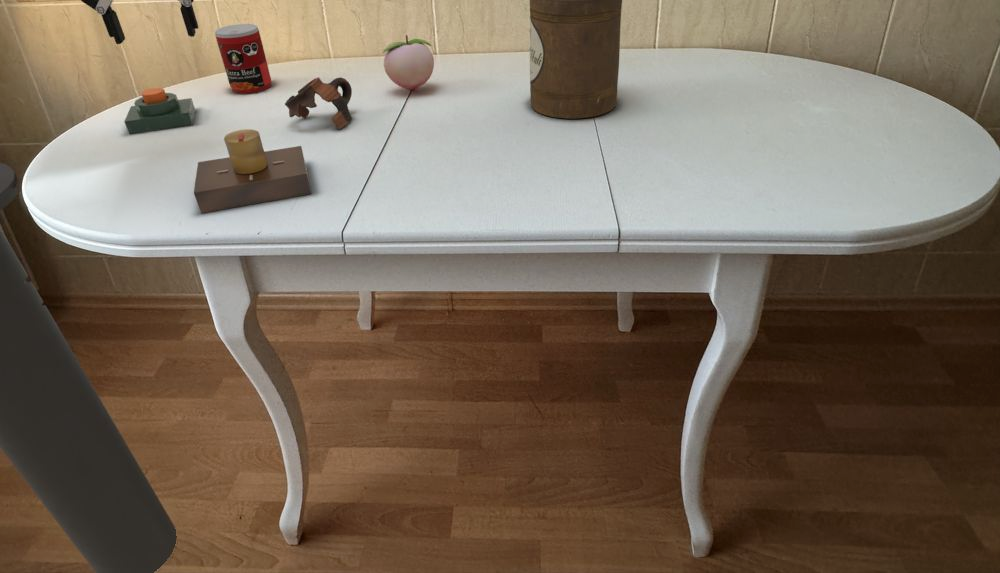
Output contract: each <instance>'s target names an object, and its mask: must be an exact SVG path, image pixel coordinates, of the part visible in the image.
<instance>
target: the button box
mask: <svg viewBox="0 0 1000 573" xmlns="http://www.w3.org/2000/svg"><path fill="white" fill-rule="evenodd" d="M165 93H166V96H167V99H166V100H164V101H161V102H157V103H145V102H144V100H143V97H142V96H141V97H139V98H137V99H136V100H135V101H134V105H131V106H130V107H129V110H128V113H127V114H126V117H125V119H124V124H125V127H126V129H127V132H128V134H129V135H133V134H140V133H146V132H154V131H160V130H167V129H173V128H174V129H175V128H182V127H189V126H194V120H195V114H196V108H195V105H194V101H193V99H192V98H191V97H189V98H182V99H181V98H180V99H178V96H177V94H175V93H172V92H165Z"/></svg>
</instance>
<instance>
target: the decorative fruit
mask: <svg viewBox="0 0 1000 573" xmlns="http://www.w3.org/2000/svg"><path fill="white" fill-rule="evenodd" d="M428 46H430V47H432V44H431V43H430V42H429V41H427V40H425V39H421V38H413V39H410V40H409V38H408V34H405V42H404V41H394V42H391V43H389V44H387V46H385V48H384V49H383V51H382V53H385V55H384V57H383V68H384V71H385V73H386V75H387V77H388V78H389V80H390V81H392V83H394V84H395V85H397V86H398V87H400V88H402V89H404V90H408V91H410V92H412V91H415V90H416V89H418V88H419V87H421V86H423V85H424V84H425V83H427V82H428V81H429V80H430V78H431V77H432V74H433V73H434V67H435V59H434V55H433V53H432V51H431V50H430V48H428Z"/></svg>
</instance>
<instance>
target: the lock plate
mask: <svg viewBox="0 0 1000 573" xmlns="http://www.w3.org/2000/svg"><path fill="white" fill-rule="evenodd" d="M264 153H265V156H266V160H267V164H268V165H267V167H266V168H265V169H263V170H261V171H259V172H255V173H251V174H239V173H236V172H235V171H234V170H233V166H232V163H231V160H230V157H229V156H228V157H222V158H215V159H209V160H203V161H198V162H197V166H196V175H195V182H194V188H193V195H194V197H195V198H194V199H195V200H196V203H197V205H198V209H199V211H200V213H201V214H205V213H212V212H216V211H223V210H227V209H232V208H238V207H240V208H241V207H244V206H249V205H256V204H262V203H268V202H274V201H279V200H285V199H290V198H296V197H302V196H307V195H312V188H311V184H310V183H311V182H310V179H309V178H310V177H309V172H308V169H307V165H306V164H307V163H306V160H305V155H304V150H303V148H302V145H297V146H291V147H285V148H279V149H272V150H271V149H270V150H266V151H265V150H264Z"/></svg>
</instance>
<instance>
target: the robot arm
mask: <svg viewBox="0 0 1000 573" xmlns="http://www.w3.org/2000/svg"><path fill="white" fill-rule="evenodd" d="M80 1H81V2H82V3H83V4H85V5H86V6H88V7H90V8H91V9H93V10H94V11H95V12H96V13H97V14H98V15H101V16H100V17H101V19H102V21H103V24H104V26H105V28H106V31H107V34H108V36H109V37H110V38H113V40H114V42H115V44H116V45H122V44H123V43H124V41H125V40H126V36H125V33H124V30H123V28H122V25H121V22H120V20H119V17H118V14H117V11H116V10H114V9H113V7H112V4H113V2H114V0H80ZM177 1H178V2H179V3H180V5H181V6H180V8H179V10H180V13H181V16H182V17H181V18H182V21H183V23H184V26H185V30H186V32H187V35H188V37H191V38H193V37H195V36H196V34H197V33H196V31H197V30H198V29H199V24H198V20H197V16H196V13H195V10H194V5H193V3H194V1H195V0H177Z"/></svg>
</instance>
